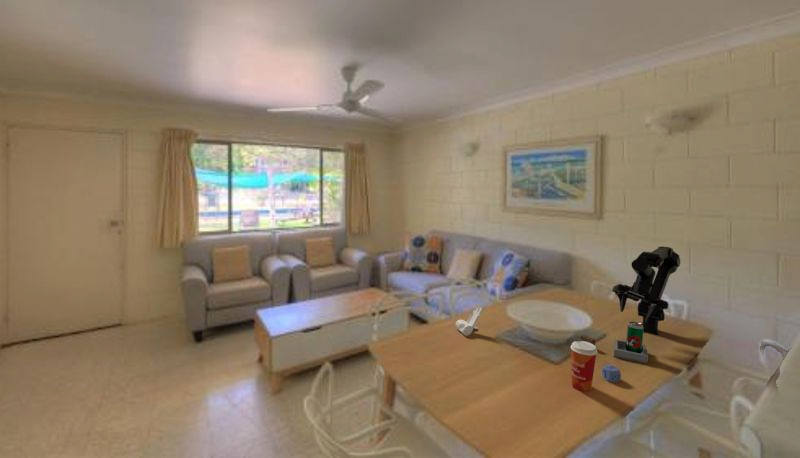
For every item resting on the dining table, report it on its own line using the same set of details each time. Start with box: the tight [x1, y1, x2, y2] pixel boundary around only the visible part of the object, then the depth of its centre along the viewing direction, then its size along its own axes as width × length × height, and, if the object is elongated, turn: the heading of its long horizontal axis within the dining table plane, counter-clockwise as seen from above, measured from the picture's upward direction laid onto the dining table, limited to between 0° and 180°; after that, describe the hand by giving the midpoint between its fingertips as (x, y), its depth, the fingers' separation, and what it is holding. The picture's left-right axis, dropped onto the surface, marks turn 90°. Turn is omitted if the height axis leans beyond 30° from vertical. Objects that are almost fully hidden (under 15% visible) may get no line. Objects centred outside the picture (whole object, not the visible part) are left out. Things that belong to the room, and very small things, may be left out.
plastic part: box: [455, 303, 484, 337], centre depth 156 cm, size 8×10×12 cm
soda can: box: [625, 321, 645, 354], centre depth 134 cm, size 5×5×12 cm
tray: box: [613, 338, 649, 365], centre depth 135 cm, size 10×10×3 cm
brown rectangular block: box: [579, 334, 596, 346], centre depth 141 cm, size 2×5×4 cm, turn 23°
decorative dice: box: [601, 364, 622, 383], centre depth 119 cm, size 4×4×4 cm
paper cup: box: [570, 340, 599, 393], centre depth 114 cm, size 8×8×14 cm
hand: (633, 316), depth 142 cm, fingers open, 9 cm apart
